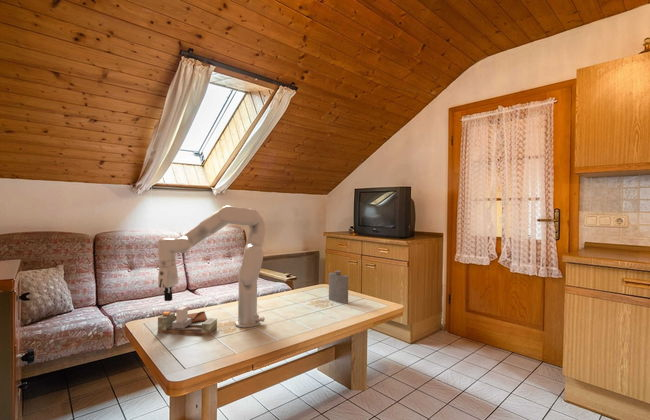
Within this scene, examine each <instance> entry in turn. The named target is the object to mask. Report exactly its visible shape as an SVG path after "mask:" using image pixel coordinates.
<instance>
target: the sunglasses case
mask: <svg viewBox="0 0 650 420" xmlns="http://www.w3.org/2000/svg"><path fill="white" fill-rule="evenodd" d="M188 318H191V324H192V325H195V324H199V323H204V322H205V321H206V320H208V319H209V318H208V317H207V315H206V312H205V311H203V310H202V311H200V312H193V313H188ZM175 320H176V315H175Z"/></svg>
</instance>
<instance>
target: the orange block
mask: <svg viewBox="0 0 650 420" xmlns="http://www.w3.org/2000/svg"><path fill="white" fill-rule="evenodd" d="M169 314H171V311H164V312H162V315H164V316H168V315H169Z"/></svg>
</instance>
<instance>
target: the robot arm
mask: <svg viewBox="0 0 650 420" xmlns="http://www.w3.org/2000/svg"><path fill="white" fill-rule="evenodd" d="M229 224H230V225H231V224H232V225H237V226H238V225H240V226H246V227H247V226H248V233H247V238H246V239H247V240H246V242H245V246H244V250H243V257H242V258H243V259H242V262H241V265H240V267H239V269H238V272H237V273H238V275H237V276H238V277H237V278H238V292H237V293H238V302H237V303H238V307H237V311H238V312H237V313H238V314H237V315H238V317H237V319H236V320H235V321H234V325H235V326H236V327H238V328H252V327H255V326H256V327H257V326H258V325H259V324H260V323H261V322H263V323H264V322H265V317H264V316H260V315H259V313H258V279H259V277H260V273H261V268H262V264H263V261H264V251H263V245H264V241H265V235H266V223H265V221H264V218H263V217H262V216H261V214H260V213H259V212H258V210H256V209H253V208H245V207H239V206H238V207H237V206H233V205H231V206H230V205H225V206H223V207H221V208H220V209H218V210H217V211H215V212H214V213H213V214H211V215H210V216H208V217H206V218H205V219H203V220H202V221H200V223H198V224H197V226H195V227H194V228H193V229H191V230H189V231H188V232H186V233H185V234H184V235H183V234H182V236H181V237H178V238H174V237H173V238H172V237H164V238H159V239H158V242H157V248H158V249H157V250H158V277H157V285H158V288H160V291H161V292H163V296H164V297H163V298H164V302H171V301H173V292H174V287H176V285H177V284H179V276H178V275H179V274H178V273H179V272H178V266H177V263H176V261H177V260H176V253H179V254H184V253H188V251H190V250H191V248H192V249H193V247H195V246H196V245H197V244H199V243H200V242H202V241H203V240H205V239H206V238H209V237H211V236H213V235H214V234H216V233H217V232H219V231H220V230H221V229H223V228H225V227H226V226H228V225H229Z"/></svg>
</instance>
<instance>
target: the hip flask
mask: <svg viewBox="0 0 650 420" xmlns="http://www.w3.org/2000/svg"><path fill="white" fill-rule="evenodd" d="M328 300H329V301H332V302H335V303H338V304H343V305H349V275H344V274H341V270H335V271H334V272H329V273H328Z"/></svg>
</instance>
